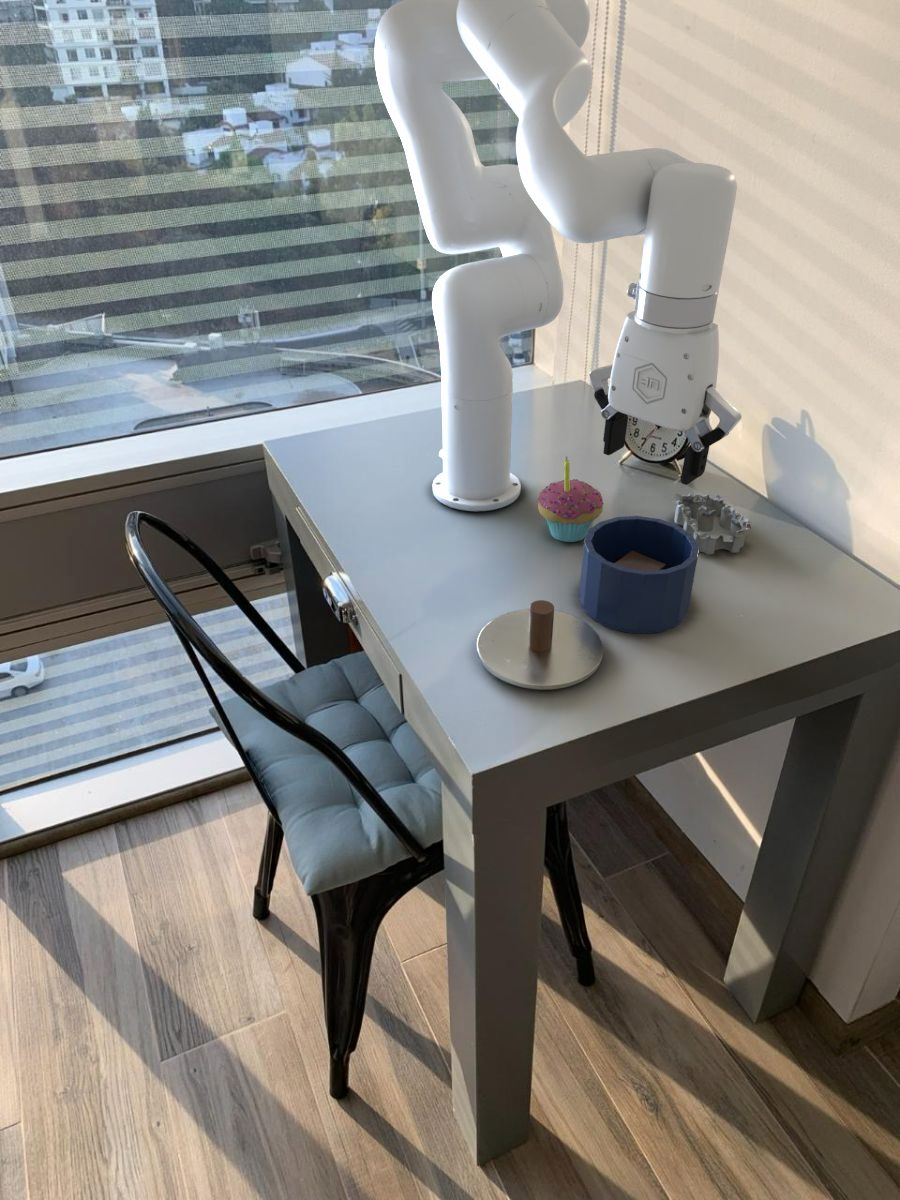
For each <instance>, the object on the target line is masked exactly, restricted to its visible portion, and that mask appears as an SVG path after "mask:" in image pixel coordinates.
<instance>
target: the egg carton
mask: <svg viewBox="0 0 900 1200" xmlns="http://www.w3.org/2000/svg"><path fill="white" fill-rule="evenodd" d="M674 496H675V497H674V498H675V502H676V507H675V508H676V509H675V512H674V519H673V520H674V521H673V522H674V524H676V525H678V526H683V528H682V529H684V530H685V531H687V532H688V533H690V534H691V535H692V536H693V537H694V539H695V540H696V542H697V544H698V545H699V553H700V552H701V553H703V554H704V555H705V554H706V555H714V554H715V551H717V550H725V551H729V552H730V553H731V554H735V553H740V549H741V548H743V547H744V545H745V541H746V538H747V531H748V530H752V524H751V522H750V520H749V519H748V518H747V517H746V516H745V515H743V516H742V515H741V513H739V512H737V510H736V509H735V508H734V507H733V506H731V505H730V504H728V503H727V502H726V503H725V501H724V498H723V497H721V495H719V494H718V495H716V496H715V497H710V494H709V493H706V494H705V495H701V494H695V495H694V494H691V493H689V494H688V495H685V494H680V493H675V494H674Z"/></svg>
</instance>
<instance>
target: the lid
mask: <svg viewBox="0 0 900 1200" xmlns="http://www.w3.org/2000/svg"><path fill="white" fill-rule="evenodd" d="M476 652H477V656H478V659H479V661H480V663H481V664H482V666H483V667H484V668H485V669H486V670H487V671H488V672H489V673H490V674H491V675H493V676H494V677H496V678H497V679H499V680H501V681H503V682H505V683H507V684H510V685H513V686H515V687H520V688H524V689H530V690H538V691H539V690H540V691H543V690H544V691H547V690H558V689H564V688H568V687H572V686H574V685H577V684H580V683H582V682H583V681H585V680H587V679H589V678H590V677H591V676H592V675H594V673H595V672H596V671H597V670H598V669H599V667H600V665H601V663H602V660H603V655H604V646H603V642H602V640H601V637H600V635H599V634H598V633H597V631H596V630H595V629H594V628H593V627H592V626H591V625H590V624H589V623H587V622H586V621H584V620H582V619H581V618H579V617H577V616H574V615H572V614H569V613H567V612H564V611H561V610H560V611H559V610H555V606H554V604H553V603H552V602H550V601H549V600H543V599H539V600H534V601H533V602H531V603H530V605H529V608H524V609H517V610H512V611H508V612H506V613H504V614H501V615H498V616H496V617H495V618H493V619H491V620H490V621H489V622H487V624H485V625H484V627H483V628H482V629H481V631H480V633H479V635H478V637H477V641H476Z"/></svg>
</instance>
